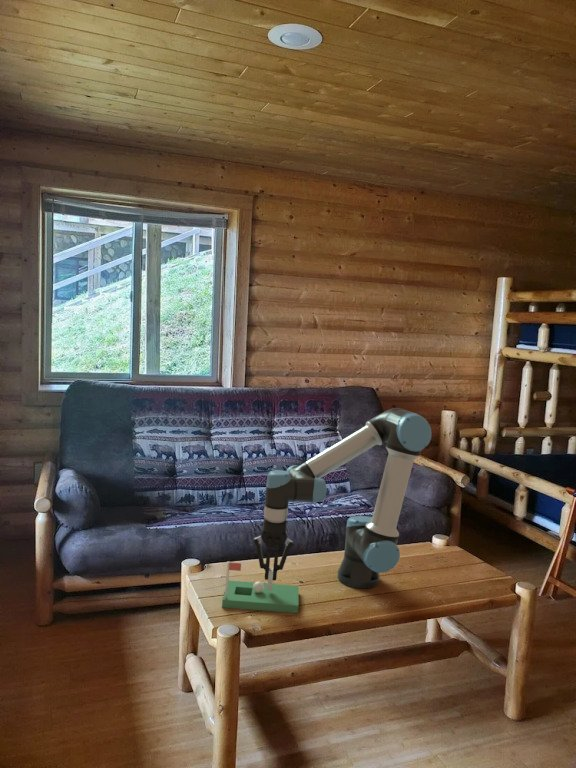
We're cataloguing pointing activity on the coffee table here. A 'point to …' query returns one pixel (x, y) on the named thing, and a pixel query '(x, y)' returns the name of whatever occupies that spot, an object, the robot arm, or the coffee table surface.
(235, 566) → the pin
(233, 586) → the green
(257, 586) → the ball
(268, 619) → the coffee table surface
